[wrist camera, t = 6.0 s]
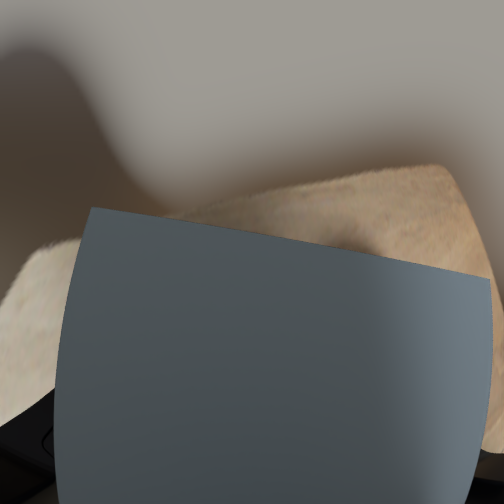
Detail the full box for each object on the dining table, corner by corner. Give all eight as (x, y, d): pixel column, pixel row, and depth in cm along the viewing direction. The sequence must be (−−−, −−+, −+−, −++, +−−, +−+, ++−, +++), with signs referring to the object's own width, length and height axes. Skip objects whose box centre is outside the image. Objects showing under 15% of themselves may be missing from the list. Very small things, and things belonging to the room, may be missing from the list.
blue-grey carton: (277, 425, 13) (450, 538, 2) (159, 414, 12) (74, 571, 1) (287, 329, 15) (488, 265, 4) (171, 313, 14) (97, 188, 3)
